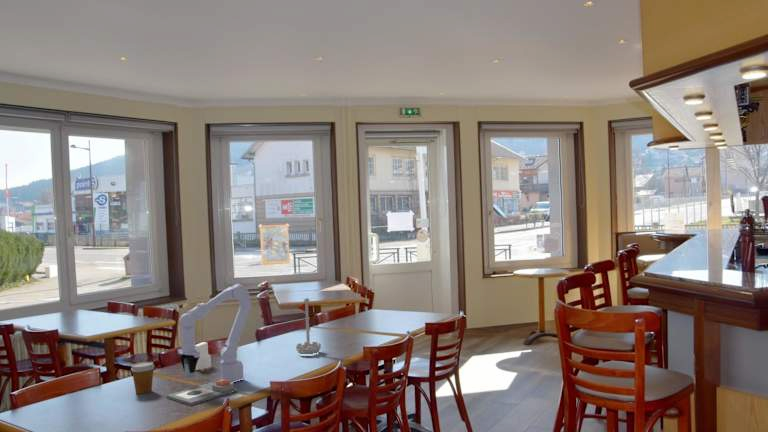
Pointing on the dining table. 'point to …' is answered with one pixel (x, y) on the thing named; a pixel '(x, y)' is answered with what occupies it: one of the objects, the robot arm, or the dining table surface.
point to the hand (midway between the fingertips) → (189, 371)
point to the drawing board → (201, 393)
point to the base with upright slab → (203, 356)
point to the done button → (222, 382)
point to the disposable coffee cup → (143, 377)
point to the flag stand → (307, 347)
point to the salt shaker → (187, 370)
